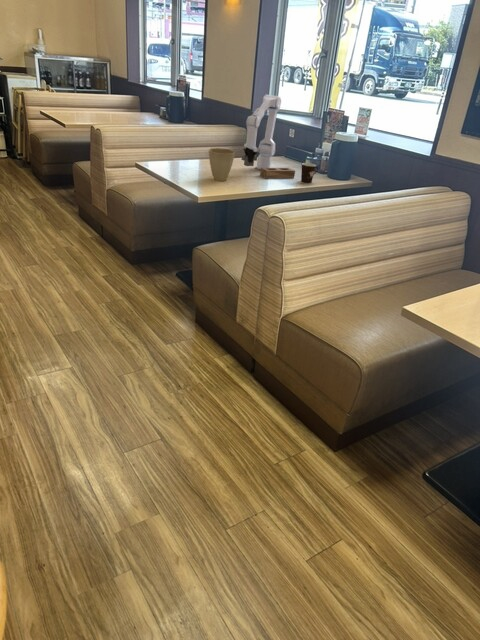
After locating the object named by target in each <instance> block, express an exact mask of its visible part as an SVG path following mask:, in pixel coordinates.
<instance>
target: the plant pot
mask: <svg viewBox="0 0 480 640" xmlns="http://www.w3.org/2000/svg"><path fill="white" fill-rule="evenodd" d="M235 154H236V151H235V150H232V149H228V148H219V147H217V148H216V147H215V148H209V149H208V157H209V165H210V171H211V175H212V178H213V180H215V181H219V182H224V181H227V179H228V177H229V174H230V173H231V169H232V167H233V163H234V158H235V156H236V155H235Z"/></svg>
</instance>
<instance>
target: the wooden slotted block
mask: <svg viewBox="0 0 480 640" xmlns="http://www.w3.org/2000/svg"><path fill="white" fill-rule="evenodd" d="M259 175H260V176H261V177H263V178H264V179H294V178H295V175H296V170H295V169H292V168H291V167H270V168H261V170H260V173H259Z"/></svg>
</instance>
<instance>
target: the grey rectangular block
mask: <svg viewBox="0 0 480 640" xmlns="http://www.w3.org/2000/svg"><path fill="white" fill-rule="evenodd" d="M241 161H244V163H243V166H245V167H254V163H255V162H257V161H258V155H257V154H255V156H254V159H253V162H252V163H249V155H245V154H242V155H241Z"/></svg>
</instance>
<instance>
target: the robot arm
mask: <svg viewBox="0 0 480 640" xmlns="http://www.w3.org/2000/svg"><path fill="white" fill-rule="evenodd" d="M281 104H282V98H281V96H280V95H270V94H267V93H266V94H265V95H264V96H263V98H262V103H261V104H260V107H257V108H255V110H254V112H253V113H252V114H251V115H248V116H247V119H246V121H245V123H246V130H247V132H246V140H245V141H246V142H245V143H243V151H244V155H249V163H252V162H253V159H254V156H255V155H257V153H259V154H258V155H257V161H256V166H255V168H256V169H258V170H260V171H261V168H271V166H272V165H271V163H272V157H273V156H274V155H275V154H276V142H275V141H274V140H273V138H274V137H273V136H274V132H275V125H276V120H277V116H278V115H277V114H278V112H280V111H281V110H280V109H281ZM266 111H268V115H267V116H268V117H267V121H266V127H265V128H266V129H265V133H264V134H265V135H264V138H263V139H262V140H260V142H259V144H258V147H257V144H256V143H257V134H258V128H259V127H260V125H261V121H262V119H263V118H264V117H265V112H266Z"/></svg>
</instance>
